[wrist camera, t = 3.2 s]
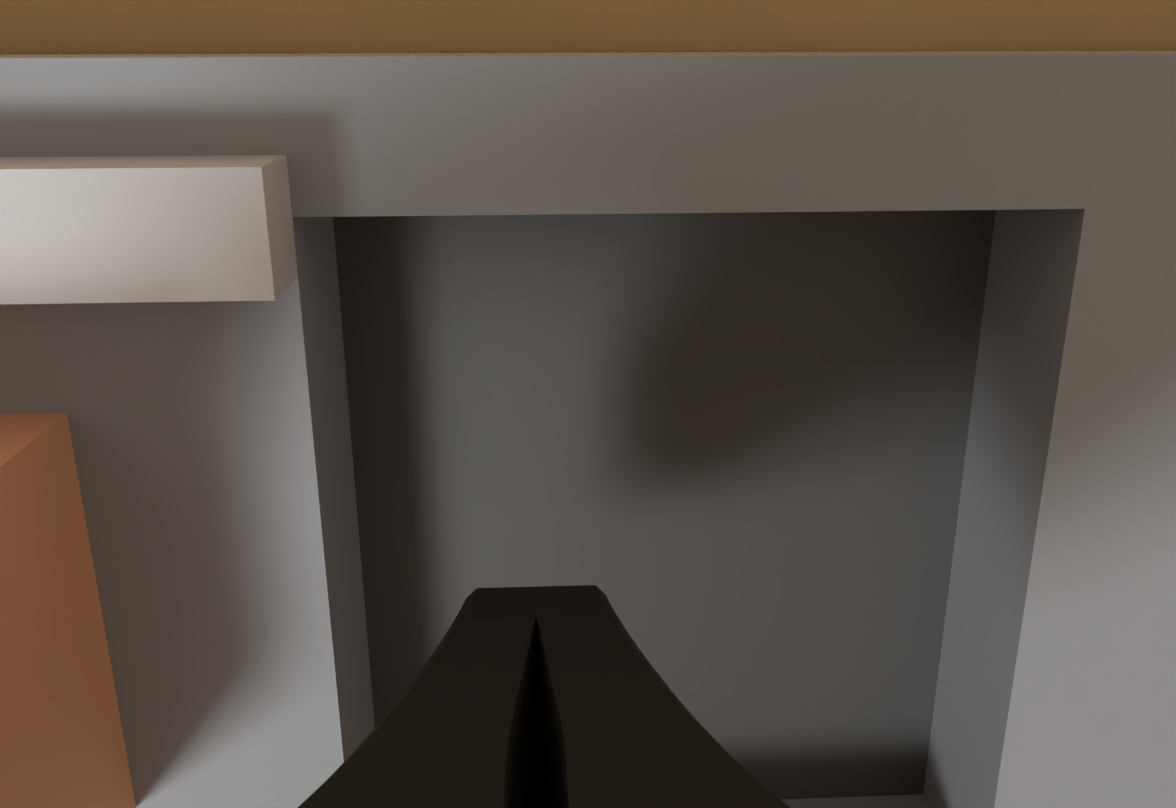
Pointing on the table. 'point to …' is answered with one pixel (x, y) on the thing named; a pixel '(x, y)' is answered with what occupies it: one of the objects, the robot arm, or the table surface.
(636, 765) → the robot arm
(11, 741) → the terracotta block
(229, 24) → the table surface
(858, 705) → the tunnel deck
